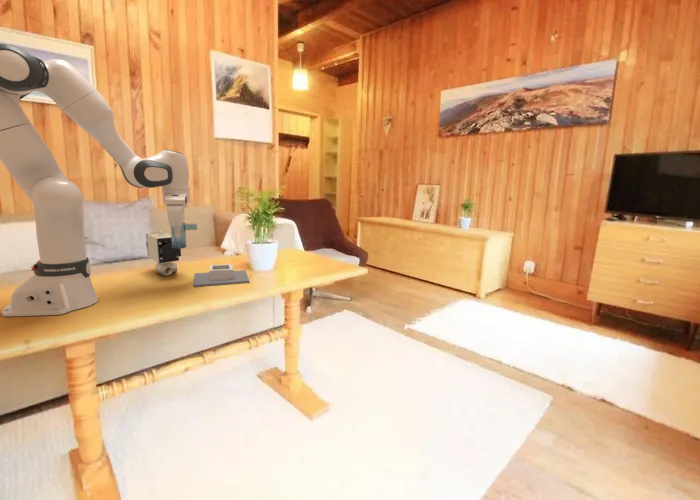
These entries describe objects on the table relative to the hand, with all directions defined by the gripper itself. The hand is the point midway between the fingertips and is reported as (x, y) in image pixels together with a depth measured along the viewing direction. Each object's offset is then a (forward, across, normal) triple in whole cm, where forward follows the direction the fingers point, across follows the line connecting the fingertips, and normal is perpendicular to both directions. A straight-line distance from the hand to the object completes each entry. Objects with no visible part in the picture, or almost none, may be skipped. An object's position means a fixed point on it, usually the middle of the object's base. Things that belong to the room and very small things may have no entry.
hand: (178, 236), depth 129 cm
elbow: (+4, 0, +2) cm, 5 cm away
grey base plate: (+18, -4, +14) cm, 24 cm away
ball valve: (+19, -17, -7) cm, 26 cm away
